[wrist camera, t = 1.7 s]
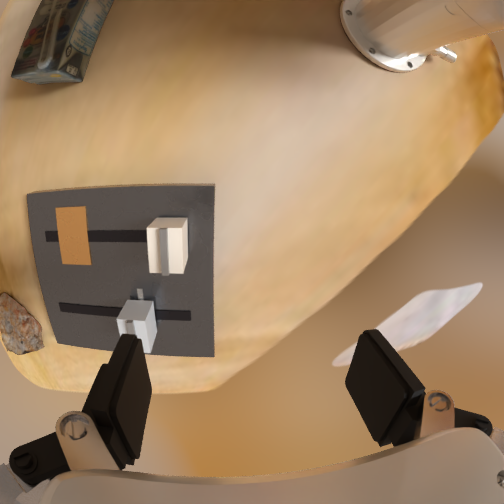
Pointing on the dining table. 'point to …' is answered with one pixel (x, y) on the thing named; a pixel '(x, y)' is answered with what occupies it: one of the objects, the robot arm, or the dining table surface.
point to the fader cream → (167, 245)
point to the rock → (18, 327)
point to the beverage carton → (60, 41)
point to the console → (124, 263)
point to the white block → (139, 322)
